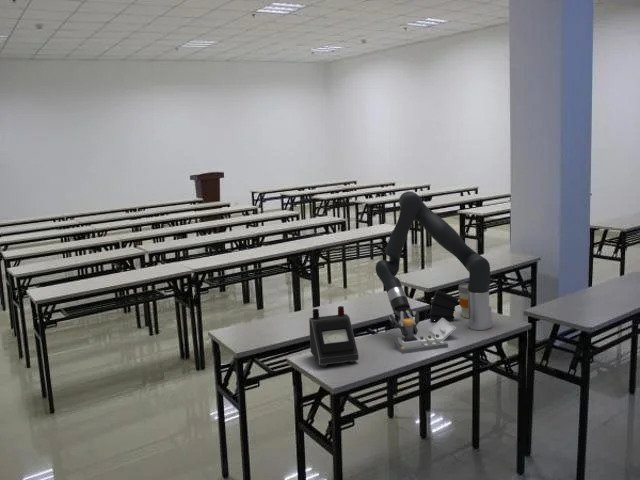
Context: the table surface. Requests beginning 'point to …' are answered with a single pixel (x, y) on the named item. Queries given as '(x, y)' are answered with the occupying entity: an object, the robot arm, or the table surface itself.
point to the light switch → (443, 328)
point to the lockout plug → (409, 329)
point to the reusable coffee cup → (464, 299)
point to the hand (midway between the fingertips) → (410, 334)
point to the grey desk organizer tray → (420, 344)
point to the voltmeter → (332, 338)
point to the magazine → (442, 306)
